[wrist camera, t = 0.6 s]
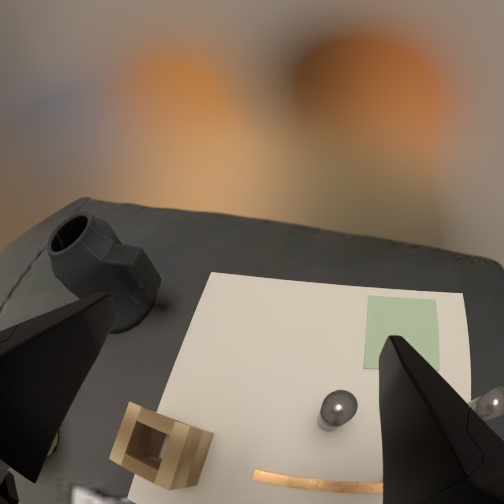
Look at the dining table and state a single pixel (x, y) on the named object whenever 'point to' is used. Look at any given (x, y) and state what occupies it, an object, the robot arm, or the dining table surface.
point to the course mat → (296, 383)
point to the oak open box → (150, 444)
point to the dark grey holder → (104, 268)
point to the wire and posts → (342, 410)
